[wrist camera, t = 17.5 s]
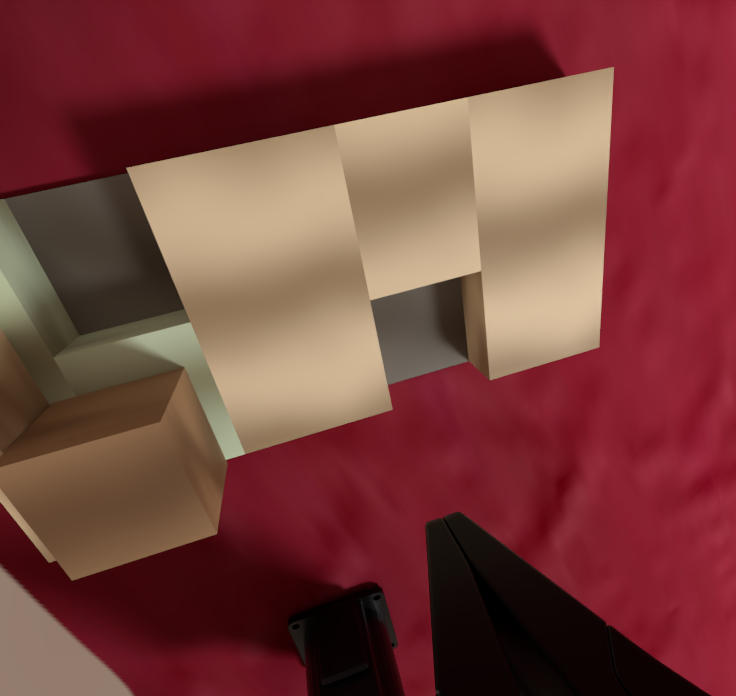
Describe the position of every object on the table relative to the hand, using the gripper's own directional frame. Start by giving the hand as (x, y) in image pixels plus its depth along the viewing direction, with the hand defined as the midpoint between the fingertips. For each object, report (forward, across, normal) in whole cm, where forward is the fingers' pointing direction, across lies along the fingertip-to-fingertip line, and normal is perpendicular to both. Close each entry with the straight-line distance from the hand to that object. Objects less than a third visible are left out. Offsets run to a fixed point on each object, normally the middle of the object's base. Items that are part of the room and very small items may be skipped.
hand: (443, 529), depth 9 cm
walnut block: (+10, +9, +1) cm, 13 cm away
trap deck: (+12, 0, -3) cm, 12 cm away
